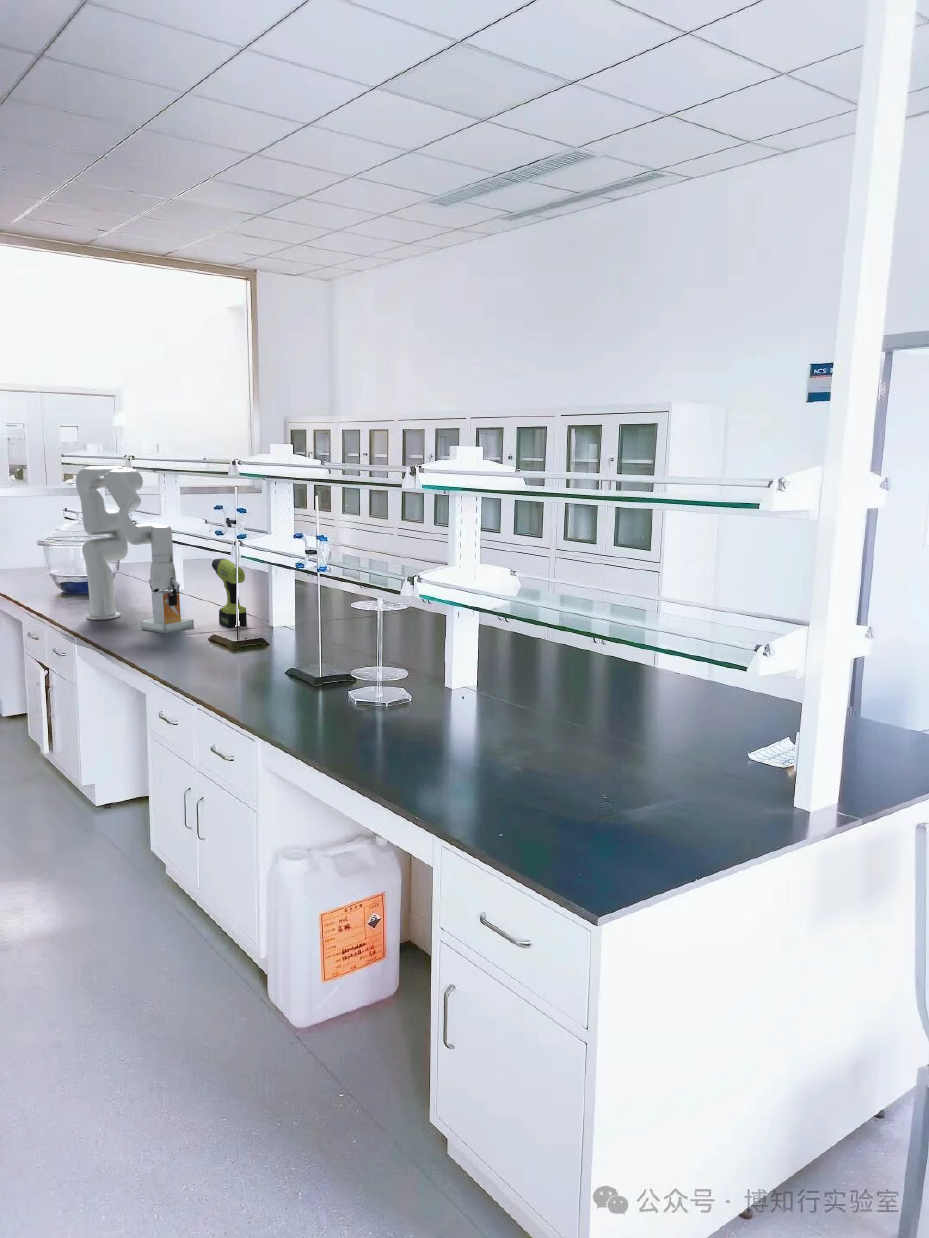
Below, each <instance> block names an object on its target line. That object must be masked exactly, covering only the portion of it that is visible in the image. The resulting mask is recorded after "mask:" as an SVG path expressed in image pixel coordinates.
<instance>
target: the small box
mask: <svg viewBox="0 0 929 1238" xmlns="http://www.w3.org/2000/svg"><path fill="white" fill-rule="evenodd" d="M171 591H173V590H171ZM169 595H170V594H169V592H168V590H159V591H158V592H152V591H151V603H152V604H151V605H152V606H151V607H152V619H153V623H159V624H164V625H165V624H170V623H176V622H181V618H182V615H181V603H180V602H181V599H180V590H179V591H178V595H177V605H175V606H169Z"/></svg>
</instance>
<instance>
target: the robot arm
mask: <svg viewBox="0 0 929 1238" xmlns="http://www.w3.org/2000/svg"><path fill="white" fill-rule="evenodd" d="M143 485H144V480H143V476H142V474H141V473H140V472H139V471H138V470H136V469H134V468H129V467H124V466H118V465H115V466H114V465H113V466H112V465H111V466H109V465H107V466H105V465H104V466H103V465H102V466H101V465H100V466H88V467H84V468H81V469H80V470H79V471H77V473H76V476H75V487H76V490H77V493H78V496H79V498H80V506H81V515H82V521H83V522H82V523H83V528H84V531H85V532H86V534H87V535H90V536H101V535H102V536H103V535H108V536H109V537H99V538H92V539H88V540H86V541H85V542H84V544H83V545H82V547H81V549H82V556H83V559H84V562H85V563H84V564H85V568H86V575H87V576H86V577H87V587H88V597H89V606H88V607H87V608H86V609H87V611H89V614H87V615H86V619H88V620H93V621H95V620H96V621H101V620H102V621H103V620H111V619H117V618H120V617H121V612H118V611H117V609H116V608H117V607H116V596H115V585H114V584H115V581H114V572H113V571H112V569H111V567H110V566H109V565H108V562H115V561H121V560H124V559H126V557H127V556H128V552H129V547H128V545H129V544H130V545H134V546H138V545H139V546H140V545H147V544H151V545H150V546H151V563H150V569H149V570H150V571H149V572H150V573H149V576H150V577H149V579H148V580H147V581H148V583H149V587H150V590H151V593H152V592H158V591H164V590H168V592H169V594H170V595H169V606H175V605H177V595H178V591H179V592H180V587H181V584H180V583H179V582H178V581H177V576H176V574H177V573H176V568H175V563H174V547H173V544H174V543H173V530H172V527H171V526H170V525H165V524H164V525H163V524H160V523H156V522H152V523H151V522H149V523H138V524H135V523H134V522H133V521H132V519H131V517H130V515H129V514H131V513H132V512H135V511H136V510H137V509H138V508H139V507H140V505H142V504H141V503H142V499H141V496H140V495H139V494H138V493H137V491H139V490H141V489H142V487H143ZM98 489H107V490H108V492H109V493H110V495H111V497H112V498H113V500H114V502H115V503H116V505H117V507H118V508H119V510H116V509H106V507H105V499H104V497H103V496H102V494H101V493H100V491H99V490H98ZM128 543H129V544H128ZM171 590H173V591H171Z"/></svg>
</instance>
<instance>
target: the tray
mask: <svg viewBox="0 0 929 1238" xmlns="http://www.w3.org/2000/svg"><path fill="white" fill-rule="evenodd" d="M140 622H141V624H140V625H141V629H142V630H147V631H151V632H155V633H157V632H158V633H162V634H166V633H173V632H177V631H183V630H187V629H192V628H194V627H195V624H194V619H192V618H187V617H181V622H176V623H170V624H165V625H164V624H159V623H153V618H150V619H146V620H145V619H144V620H141V621H140Z"/></svg>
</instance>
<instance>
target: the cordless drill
mask: <svg viewBox="0 0 929 1238" xmlns="http://www.w3.org/2000/svg"><path fill="white" fill-rule="evenodd" d="M235 565H236V564H235V563H234V562H233V561H231V560H229V559H227V558H215V559H213V560H212V562H211V567H212V569H213V570H214V571H215V573H216V575H217V576H218V578H220V579H221V580H222V582H223V586H224V589H225V590H226V592H225V593H226V596H227V597H226V598H227V599H226V601H227V602H226V603H225V605H224V606H223V607H221V608H220V609H219V610H218V622H219V624H218V625H220V626H223V627H225V628H228V629H233V628H234V627H235V625H236V568H235ZM245 580H246V574H245V572H244V569H242V568H241V567H240V566H238V583H237V584H241V583H244V582H245ZM238 609H239V621H240V626H242V627H247V626H248V622H247V621H248V620H247V607H246V606H242V605H241V604H240V601H239V597H238ZM235 628H236V627H235Z"/></svg>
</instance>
